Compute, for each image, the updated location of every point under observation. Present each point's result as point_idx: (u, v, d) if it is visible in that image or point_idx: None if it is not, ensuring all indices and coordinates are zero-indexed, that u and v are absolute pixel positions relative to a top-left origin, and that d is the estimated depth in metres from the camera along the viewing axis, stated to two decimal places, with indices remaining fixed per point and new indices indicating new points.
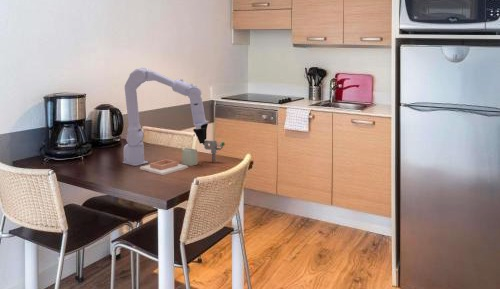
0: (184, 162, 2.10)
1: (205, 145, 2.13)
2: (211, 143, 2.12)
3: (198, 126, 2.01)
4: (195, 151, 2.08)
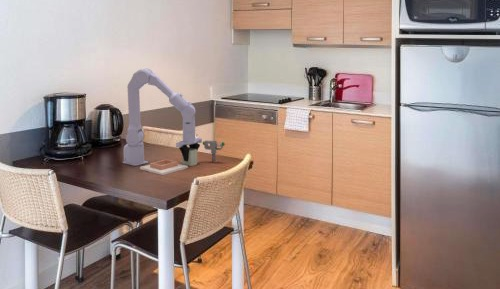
0: (184, 162, 2.10)
1: (205, 145, 2.13)
2: (211, 143, 2.12)
3: (177, 144, 2.03)
4: (195, 151, 2.08)
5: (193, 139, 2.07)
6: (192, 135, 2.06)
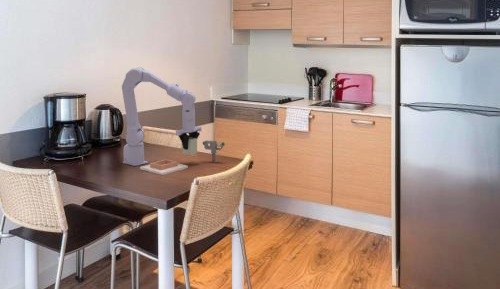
0: (184, 151, 2.09)
1: (205, 145, 2.13)
2: (211, 143, 2.12)
3: (177, 132, 2.02)
4: (195, 140, 2.07)
5: (193, 127, 2.05)
6: (192, 123, 2.05)
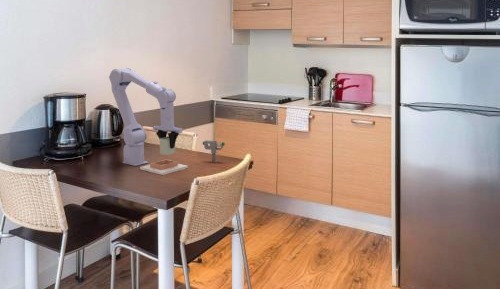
0: None
1: (205, 145, 2.13)
2: (211, 143, 2.12)
3: None
4: (164, 140, 1.98)
5: (163, 126, 1.97)
6: (162, 121, 1.97)
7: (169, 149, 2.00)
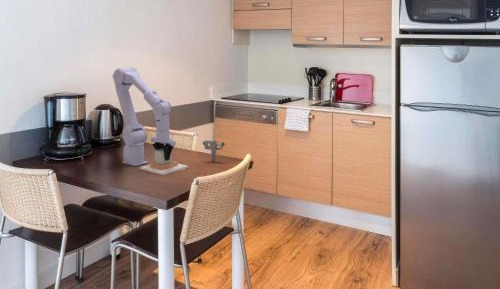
0: None
1: (205, 145, 2.13)
2: (211, 143, 2.12)
3: None
4: (159, 152, 1.98)
5: (158, 138, 1.97)
6: (157, 133, 1.97)
7: (164, 161, 1.99)
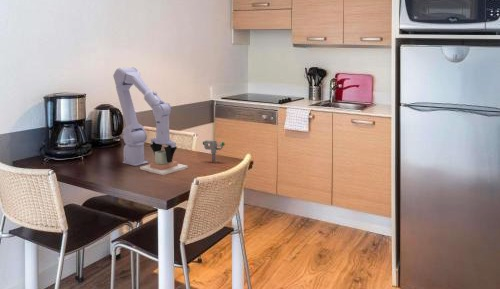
0: None
1: (205, 145, 2.13)
2: (211, 143, 2.12)
3: None
4: (159, 154, 1.98)
5: (158, 139, 1.98)
6: (157, 134, 1.97)
7: (164, 163, 1.99)
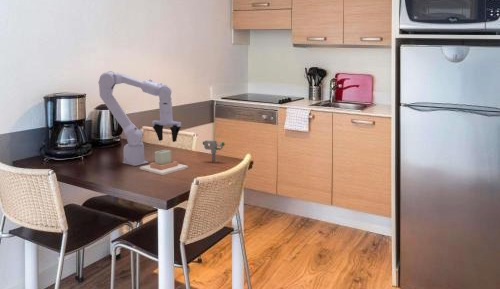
0: None
1: (205, 145, 2.13)
2: (211, 143, 2.12)
3: None
4: (159, 154, 1.98)
5: (162, 120, 2.06)
6: (161, 116, 2.06)
7: (164, 163, 1.99)
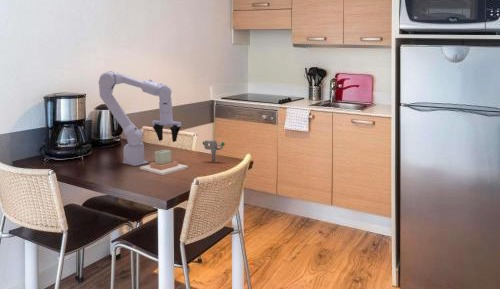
0: None
1: (205, 145, 2.13)
2: (211, 143, 2.12)
3: None
4: (159, 154, 1.98)
5: (162, 120, 2.06)
6: (161, 116, 2.06)
7: (164, 163, 1.99)
